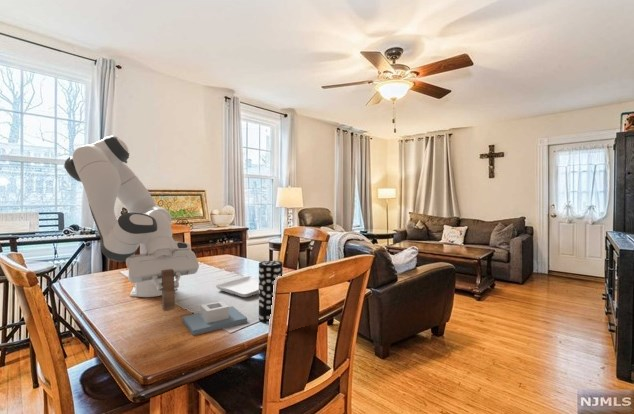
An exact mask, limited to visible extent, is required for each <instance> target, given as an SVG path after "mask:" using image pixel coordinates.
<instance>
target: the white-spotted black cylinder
mask: <svg viewBox="0 0 634 414" xmlns="http://www.w3.org/2000/svg"><path fill="white" fill-rule="evenodd" d="M283 266H284V265H283V261H279V260H264V261H261V262H259V263H258V278H259V294H258V321H259V322H260V323H262V324H269V319H270V314H271V305H272V297H273V285H274V280H275V278H276V277H278V276H282V275H283V273H284V272H283V268H284V267H283Z"/></svg>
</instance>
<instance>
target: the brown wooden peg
mask: <svg viewBox="0 0 634 414" xmlns="http://www.w3.org/2000/svg"><path fill="white" fill-rule="evenodd" d="M161 273H162V283H163V290H162V295H161V303H162V305H161V308H162V310H163V312H168V311H173V310H176V301H175V300H176V299H175V297H176V296H175V290H174V281H175V277H174V270H173V269H168V270H161Z"/></svg>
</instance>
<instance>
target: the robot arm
mask: <svg viewBox="0 0 634 414" xmlns="http://www.w3.org/2000/svg"><path fill="white" fill-rule="evenodd" d="M129 158H130V151H129V148H128V145H127V144H126V143H125V142H124V141H123V140H122V139H120V138H119V137H118V136H116V135H109V136H105V137H103V139H100V140H97V141H95V142H93V143H90V144H85V145H84V144H83V145H81V146H79V147H77V148H76V149H75V150H74V151H73V153H72V155H70V156H69V157H68V158H67V159H66V160H65V161H64V166H63V167H64V169H65V171H66V172H67V174H68V175H69V176H70V177H71V178H73V179H74V180H76V181H77V182H80V183H82V187H83V188H84V192H85V194H86V199H87V202H88V206H89V209H90V213H91V216H92V218H93V221H94V224H95V227H96V229H97V231H98V235H99V238H100V251H101V253H102V254H103V256H105V257H106V258H107V259H108V260H111V261H112V262H113V261H114V262H125V266H126V267H127V268H128V282H130V283H132V284H134V286H133V287H132V290H131V291H130V294H129V296H130V297H140V298H154V297H159V296H162V290H163V283H162V273H161V270H168V269H173V270H174V291H176V290H178V288H179V287H180V283H179V281H180V279H181V277H182V276H188V275H194V274H196V273H197V272H198V271H199V268H200V265H199V264H200V263H199V260H198V258H197V256H196V254H195V252H194V251H193V250H192V247H191V244H190V243H188V242H181V241H177V240H174V238H173V229H172V226H171V224H172V216H171V214H170V212H169V211H168V210H167V209H166V208H165V207H162V206H159V205H158V203H156V201H155V200H154V198H153V197H152V195H151V193H150V192H149V189H148V188H147V187H146V186H145V185H144V184H143V182H142V181H141V180H140V179H139V177H138V176H137V175H136V173H135V172H134V171H133V170H132V169H131V168H130V167H129V166H128V165H127V164H128V159H129ZM117 199H119V201H120V202H121V203H122V204H123V206H124V207H125V208H126V209H127V211H128V212H125V213H122V214H121V215H120V216H119V217H118V218H117V216H116V215H115V214H116V213H115V204H116V201H117ZM138 248H139V254H136V252H137V251H138Z"/></svg>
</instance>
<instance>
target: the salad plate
mask: <svg viewBox="0 0 634 414" xmlns="http://www.w3.org/2000/svg"><path fill="white" fill-rule="evenodd" d="M215 288H216V289H218V290H220V291H222V292H226V293H228V294H231V295H234V294H235V296H238V297H242V298H248V297H253V296H255V294H256V295H259V294H258V293H259V277H255V276H252V275H249V276H245V277H241V278H236V279H234V280H230V281H226V282H223V283H220V284H215ZM252 295H253V296H252Z"/></svg>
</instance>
